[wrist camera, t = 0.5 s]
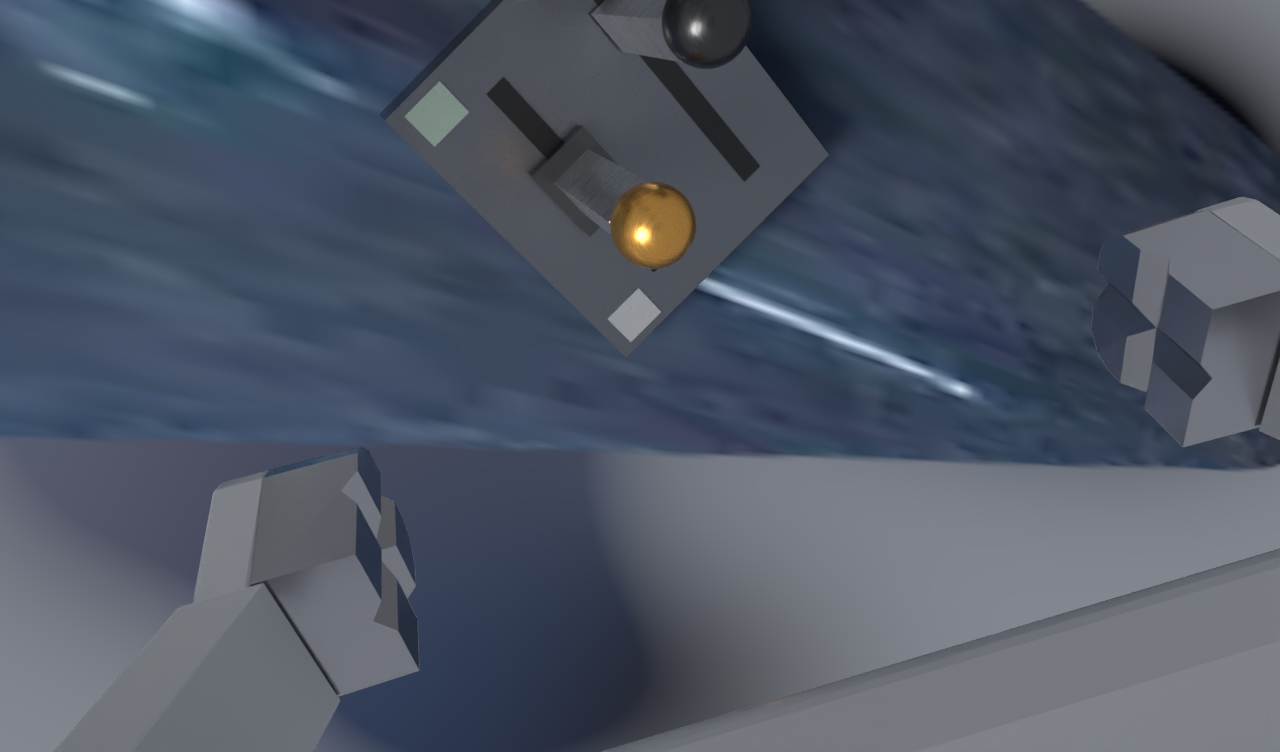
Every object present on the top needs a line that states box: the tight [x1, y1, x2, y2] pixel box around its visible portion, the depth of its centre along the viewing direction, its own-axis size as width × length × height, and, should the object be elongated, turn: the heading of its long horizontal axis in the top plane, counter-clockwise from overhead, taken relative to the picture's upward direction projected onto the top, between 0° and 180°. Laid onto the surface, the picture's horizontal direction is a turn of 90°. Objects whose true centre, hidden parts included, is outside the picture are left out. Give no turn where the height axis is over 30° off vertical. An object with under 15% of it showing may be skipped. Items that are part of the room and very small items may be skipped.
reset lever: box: [530, 125, 696, 269], centre depth 46 cm, size 4×4×13 cm
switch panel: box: [380, 0, 829, 357], centre depth 48 cm, size 18×16×16 cm
